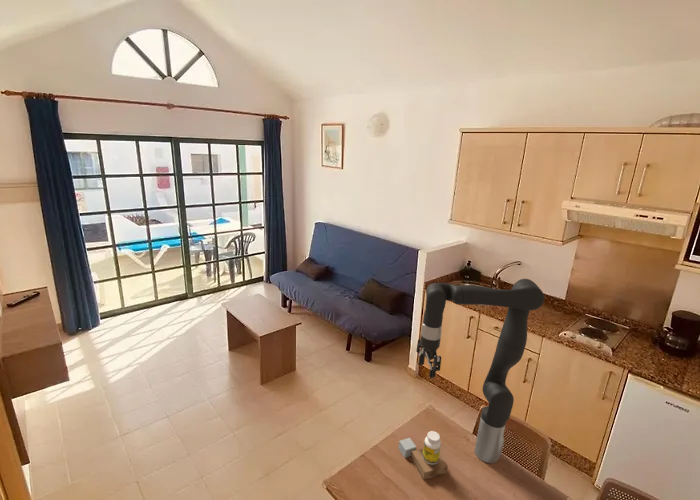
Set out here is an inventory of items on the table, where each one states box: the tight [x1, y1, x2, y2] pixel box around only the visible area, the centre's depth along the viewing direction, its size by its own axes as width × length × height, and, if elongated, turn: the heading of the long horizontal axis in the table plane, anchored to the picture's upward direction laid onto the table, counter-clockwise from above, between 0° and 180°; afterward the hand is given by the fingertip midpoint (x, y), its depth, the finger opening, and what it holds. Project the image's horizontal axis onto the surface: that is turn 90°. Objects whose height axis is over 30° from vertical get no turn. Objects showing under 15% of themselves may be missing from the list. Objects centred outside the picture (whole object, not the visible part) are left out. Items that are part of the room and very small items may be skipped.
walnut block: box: [410, 448, 448, 480], centre depth 141 cm, size 10×10×4 cm
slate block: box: [398, 437, 417, 459], centre depth 147 cm, size 5×5×4 cm
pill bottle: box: [422, 430, 442, 465], centre depth 139 cm, size 6×6×11 cm
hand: (426, 370), depth 143 cm, fingers open, 8 cm apart
